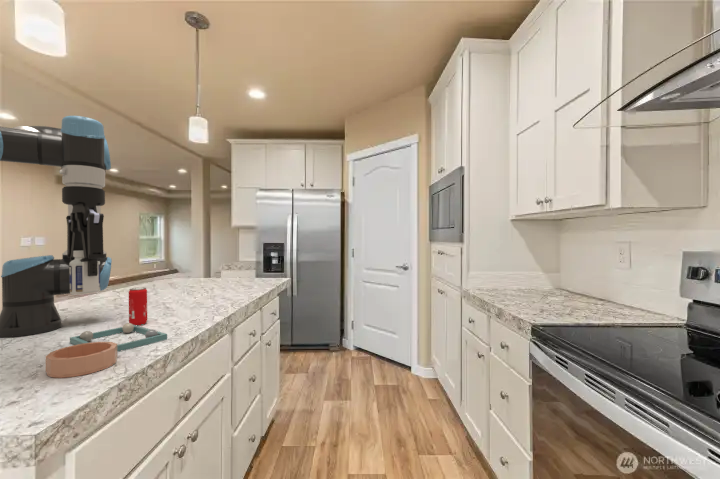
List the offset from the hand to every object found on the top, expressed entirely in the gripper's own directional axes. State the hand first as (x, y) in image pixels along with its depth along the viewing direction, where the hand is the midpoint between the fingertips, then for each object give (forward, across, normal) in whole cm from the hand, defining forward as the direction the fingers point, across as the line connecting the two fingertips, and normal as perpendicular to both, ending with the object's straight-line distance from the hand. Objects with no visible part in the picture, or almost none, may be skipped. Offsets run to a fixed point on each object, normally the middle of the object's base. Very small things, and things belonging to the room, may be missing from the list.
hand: (85, 289), depth 76 cm
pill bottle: (+1, 0, 0) cm, 1 cm away
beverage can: (+17, -30, +25) cm, 43 cm away
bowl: (+17, 0, -1) cm, 17 cm away
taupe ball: (+17, -22, +7) cm, 28 cm away
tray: (+17, -14, +12) cm, 26 cm away
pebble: (+17, -22, +18) cm, 33 cm away
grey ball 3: (+17, -8, +18) cm, 26 cm away
